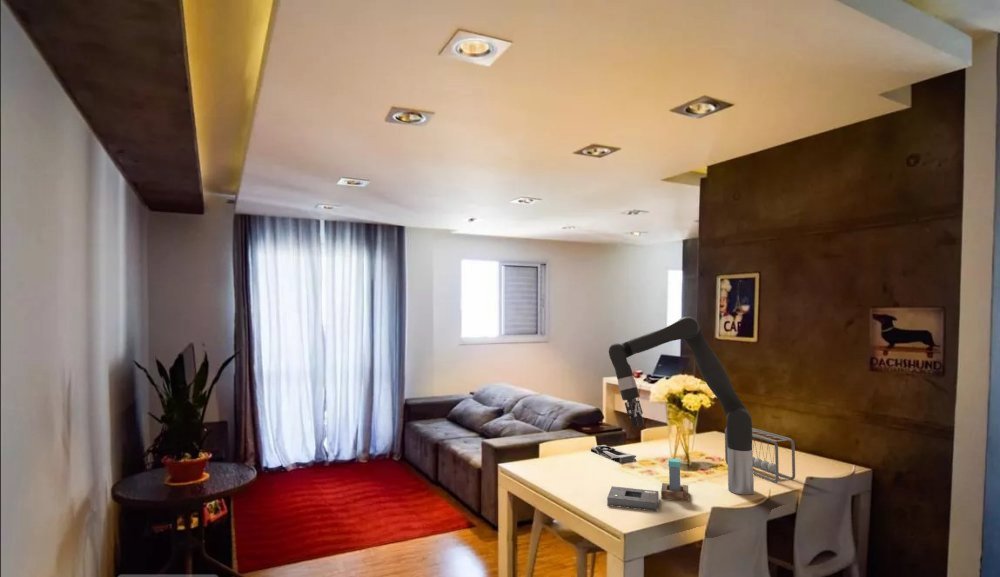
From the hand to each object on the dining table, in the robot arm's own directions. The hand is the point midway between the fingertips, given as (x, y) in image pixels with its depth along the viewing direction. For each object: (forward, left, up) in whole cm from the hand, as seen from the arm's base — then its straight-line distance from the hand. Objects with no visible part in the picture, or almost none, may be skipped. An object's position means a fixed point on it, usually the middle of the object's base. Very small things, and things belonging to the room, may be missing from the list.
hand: (638, 425), depth 230 cm
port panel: (0, +25, -24) cm, 35 cm away
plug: (-15, +13, -24) cm, 31 cm away
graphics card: (+16, -36, -25) cm, 46 cm away
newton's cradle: (-50, -30, -24) cm, 63 cm away
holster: (-15, +13, -24) cm, 31 cm away
